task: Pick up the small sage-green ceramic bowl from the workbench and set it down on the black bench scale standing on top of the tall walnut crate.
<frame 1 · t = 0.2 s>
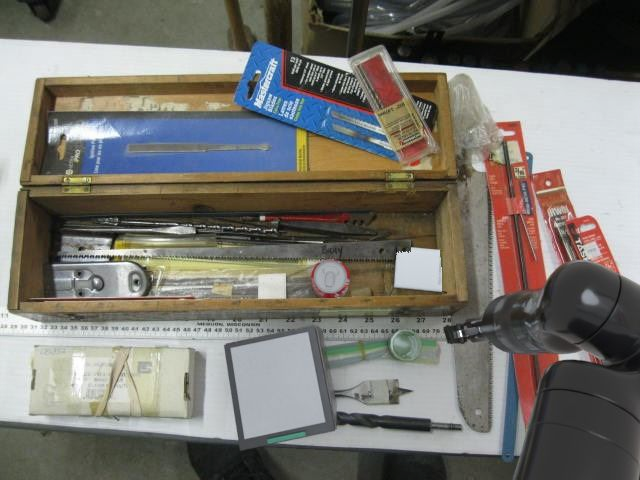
hand: (482, 326, 70), 17 cm above the table, tool pointing down, fingers open, 8 cm apart
scale: (280, 385, 62), resting on crate
soda can: (331, 285, 90), on the table
crate: (295, 372, 86), on the table
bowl: (402, 344, 87), on the table
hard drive: (425, 270, 90), on the table
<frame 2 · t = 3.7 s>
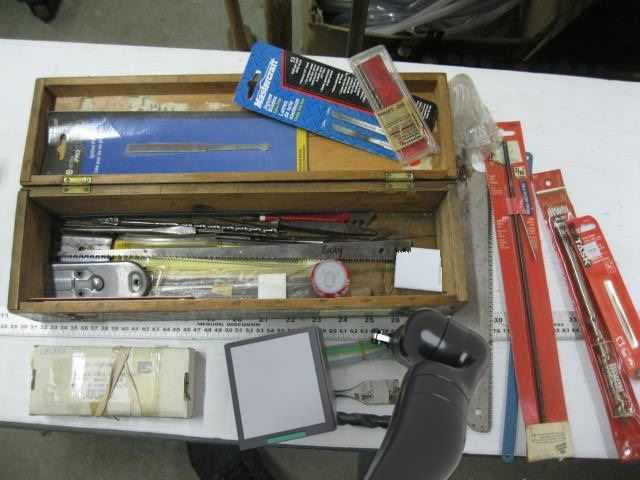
hand: (402, 344, 86), 1 cm above the table, tool pointing down, fingers closed on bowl, 5 cm apart
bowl: (402, 344, 87), on the table, touching gripper
everything else where it was.
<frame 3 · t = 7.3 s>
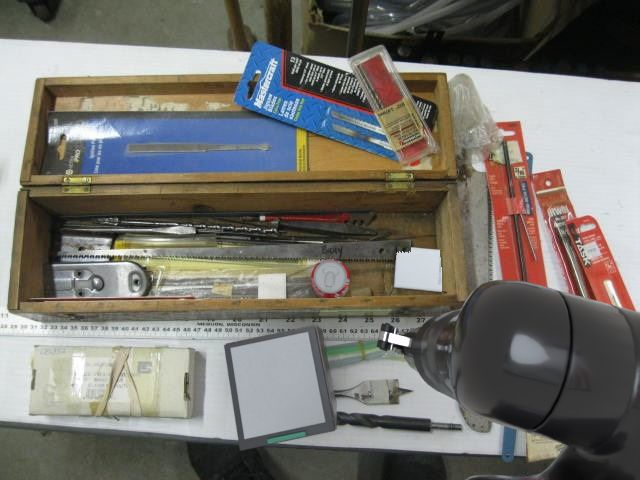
hand: (426, 350, 54), 33 cm above the table, tool pointing down, fingers closed on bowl, 5 cm apart
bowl: (425, 349, 55), point 32 cm above the table, touching gripper
everything else where it was.
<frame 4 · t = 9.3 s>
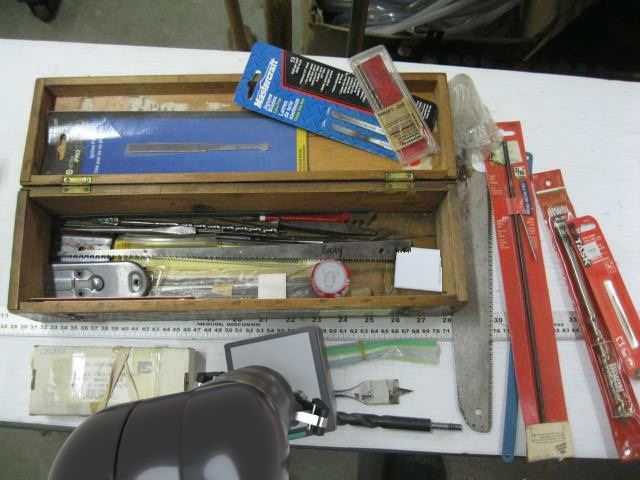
hand: (273, 392, 54), 33 cm above the table, tool pointing down, fingers closed on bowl, 5 cm apart
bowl: (273, 391, 54), point 33 cm above the table, touching gripper
everything else where it was.
when the fingers open (28 cm above the table, at t = 11.0 s): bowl stays where it is, resting on scale.
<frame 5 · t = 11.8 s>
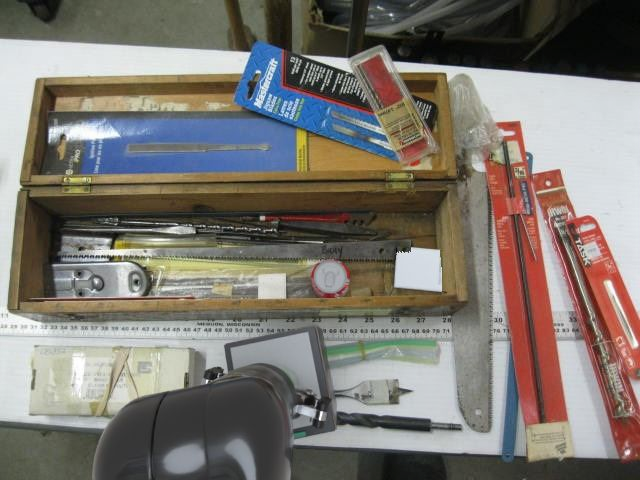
hand: (275, 388, 57), 30 cm above the table, tool pointing down, fingers open, 8 cm apart
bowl: (277, 387, 59), point 28 cm above the table, touching scale
everything else where it was.
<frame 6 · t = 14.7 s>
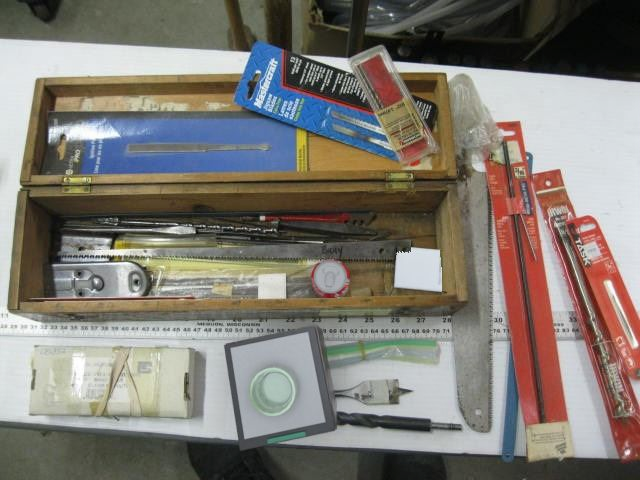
nothing on the table moved.
at the end: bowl inside the target area on the scale (0.2 cm from its centre), point 2.8 cm above the scale's base; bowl tilted 0° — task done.
